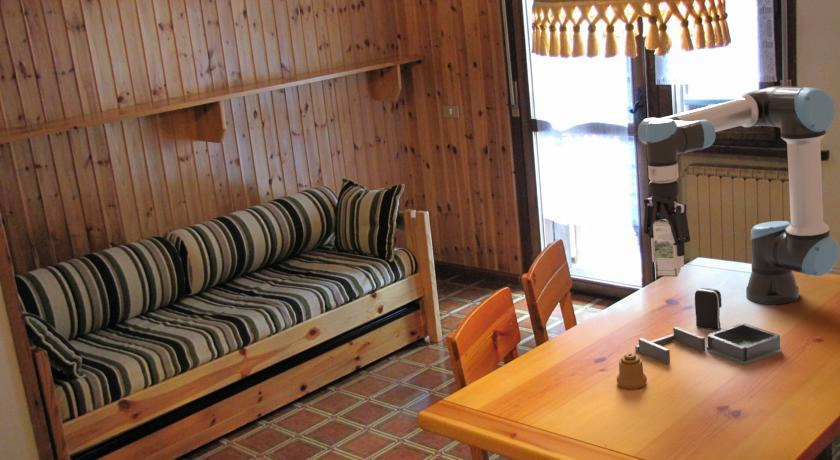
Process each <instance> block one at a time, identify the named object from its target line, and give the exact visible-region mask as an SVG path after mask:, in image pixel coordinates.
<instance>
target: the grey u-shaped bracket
mask: <svg viewBox="0 0 840 460" xmlns="http://www.w3.org/2000/svg"><path fill="white" fill-rule="evenodd" d="M672 330H673V332H672V333H671V334H668V335H665V336H662V337H658V338H656V339H652V340H648V339H645V338H643V337H640V338H638V344H637V345H635V347H634V348H635V352H637V353H639V354H641V355H643V356H645V357H648V358H650V359H652V360H655V361H657V362H660V363H662V364H664V365H669V364H671V355H670V353H671V352H670V349H669V348H667V347H664V346H662V345H665V344H668V343H671V342H675V343H677V344H679V345H682V346H685V347H687V348H690V349H692V350H694V351H697V352H700V353H705V352H706V337H704V336H702V335H700V334H697V333H694V332H691V331H688V330H687V329H683V328H681V327H678V326H674V327H673V328H672Z"/></svg>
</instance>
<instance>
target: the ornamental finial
mask: <svg viewBox="0 0 840 460" xmlns="http://www.w3.org/2000/svg"><path fill="white" fill-rule="evenodd" d="M643 366H644V365H643V360H642V358H640V357H639V356H638V355H636V354H635V353H625V354H624V355H623V356H622V357H621V358H619V360H618V370H619V371H618V373H619V374H618V375H617V376H616V383H617V385H618V386H619V387H620V388H622V389H625V390H631V389H632V390H638V389H641V388H644V387H645V386H646V384H647V382H648V381H647V380H648V378H647V375H646V374H645V373H644V367H643Z"/></svg>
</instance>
